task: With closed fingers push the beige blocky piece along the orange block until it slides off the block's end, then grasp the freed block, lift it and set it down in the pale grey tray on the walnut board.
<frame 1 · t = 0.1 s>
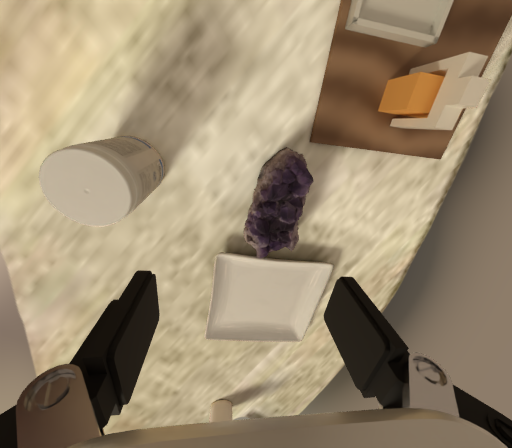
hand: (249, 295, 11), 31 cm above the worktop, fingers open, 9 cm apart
beige blocky piece: (435, 96, 30), point 7 cm above the worktop, slide at 0.0 cm
milk bottle: (221, 404, 75), on the worktop
geode: (272, 198, 42), on the worktop
orange block: (406, 100, 35), point 1 cm above the worktop, touching board
board: (406, 64, 34), on the worktop
supplement tub: (138, 165, 36), on the worktop
square plate: (263, 293, 54), on the worktop
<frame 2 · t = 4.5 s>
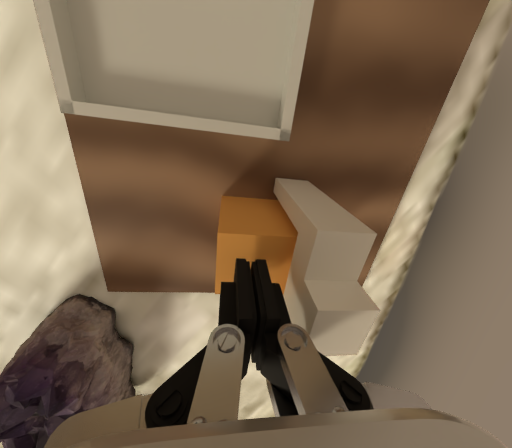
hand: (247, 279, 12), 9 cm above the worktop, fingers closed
beige blocky piece: (301, 260, 14), point 7 cm above the worktop, slide at 1.2 cm, touching gripper
geode: (90, 351, 26), on the worktop
tray: (188, 30, 13), resting on board
orange block: (270, 223, 19), point 1 cm above the worktop, touching board
board: (259, 163, 17), on the worktop
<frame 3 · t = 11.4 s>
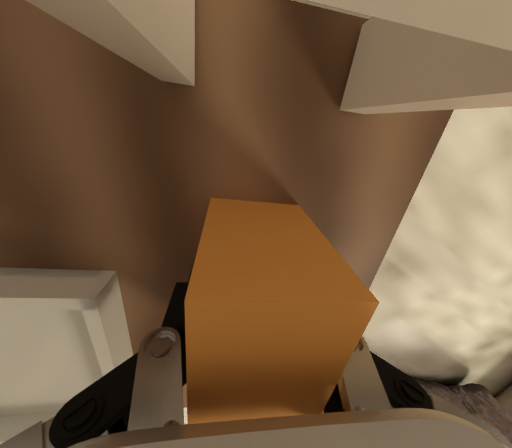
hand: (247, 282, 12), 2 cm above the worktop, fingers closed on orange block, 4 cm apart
geode: (392, 396, 25), on the worktop
tray: (43, 352, 13), resting on board
orange block: (246, 272, 12), point 1 cm above the worktop, touching board, gripper
board: (164, 278, 13), on the worktop
when the fingers open (4 cm above the worktop, at t = 16.4 s): orange block drops 2 cm, resting on tray.
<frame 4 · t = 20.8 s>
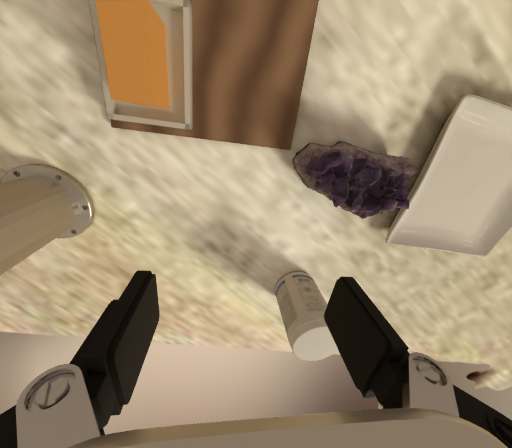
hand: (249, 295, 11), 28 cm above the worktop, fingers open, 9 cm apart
geode: (341, 174, 39), on the worktop
tray: (150, 67, 28), resting on board
orange block: (149, 66, 27), point 2 cm above the worktop, touching tray
board: (210, 29, 27), on the worktop
supplement tub: (294, 285, 49), on the worktop
square plate: (459, 186, 43), on the worktop
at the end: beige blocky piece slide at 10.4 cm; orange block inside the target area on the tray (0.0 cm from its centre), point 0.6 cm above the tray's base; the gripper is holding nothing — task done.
